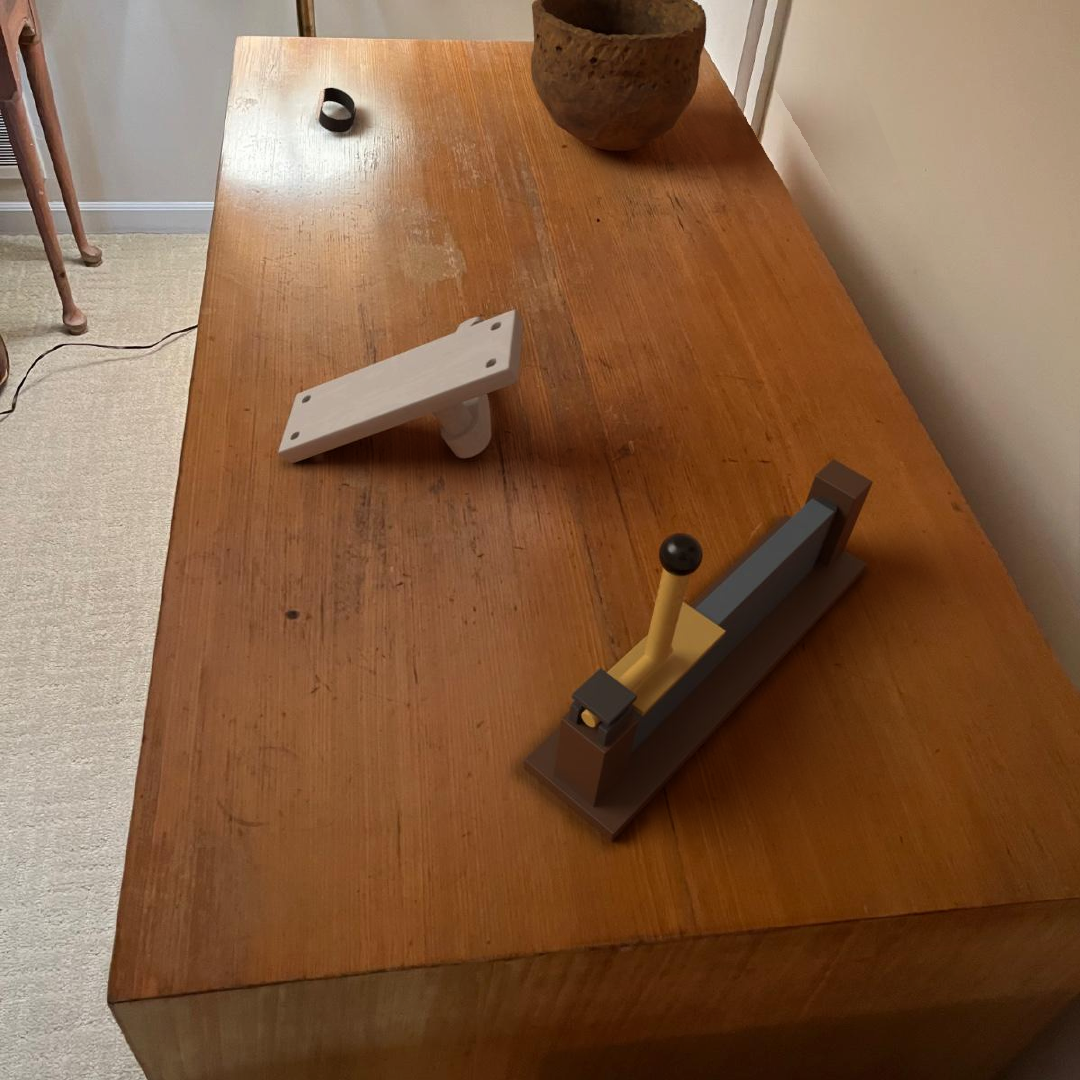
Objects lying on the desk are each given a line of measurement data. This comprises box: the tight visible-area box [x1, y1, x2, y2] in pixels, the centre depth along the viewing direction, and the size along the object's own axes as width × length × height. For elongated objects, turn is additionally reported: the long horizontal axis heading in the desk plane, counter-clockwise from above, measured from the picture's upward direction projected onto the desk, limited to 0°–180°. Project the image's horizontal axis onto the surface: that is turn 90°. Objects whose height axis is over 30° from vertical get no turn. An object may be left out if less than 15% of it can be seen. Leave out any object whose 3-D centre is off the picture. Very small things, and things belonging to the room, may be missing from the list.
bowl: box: [530, 0, 707, 152], centre depth 113 cm, size 19×19×15 cm
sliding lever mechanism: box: [523, 458, 873, 843], centre depth 65 cm, size 29×7×9 cm, turn 138°
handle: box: [277, 309, 524, 464], centre depth 82 cm, size 18×8×20 cm
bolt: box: [581, 532, 704, 727], centre depth 53 cm, size 7×2×10 cm, turn 138°
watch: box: [314, 87, 357, 134], centre depth 116 cm, size 8×5×4 cm, turn 6°
